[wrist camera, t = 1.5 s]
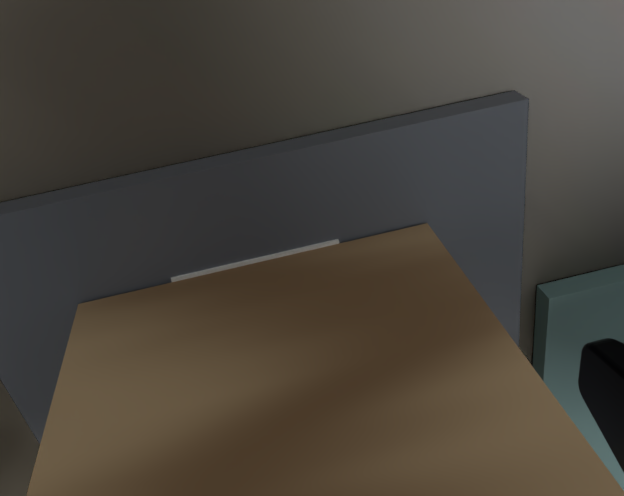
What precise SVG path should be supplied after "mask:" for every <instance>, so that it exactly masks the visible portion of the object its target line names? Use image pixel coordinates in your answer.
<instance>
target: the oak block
mask: <svg viewBox="0 0 624 496" xmlns="http://www.w3.org/2000/svg"><path fill="white" fill-rule="evenodd" d="M26 496H624V491H623V489H622V488H621V487H620V485H619V484H618V482H617V481H616V480H615V478H614V477H613V476H612V474H611V473H610V472H609V470H608V469H607V467H606V466H605V465H604V463H603V462H602V461H601V459H600V458H599V457H598V455H597V454H596V452H595V451H594V450H593V448H592V447H591V446H590V444H589V443H588V442H587V440H586V439H585V437H584V436H583V435H582V433H581V432H580V431H579V429H578V428H577V427H576V425H575V424H574V422H573V421H572V420H571V418H570V417H569V416H568V414H567V413H566V412H565V410H564V409H563V407H562V406H561V405H560V403H559V402H558V401H557V399H556V398H555V397H554V395H553V394H552V392H551V391H550V390H549V388H548V387H547V386H546V384H545V383H544V382H543V380H542V379H541V377H540V376H539V375H538V373H537V372H536V371H535V369H534V368H533V367H532V365H531V364H530V362H529V361H528V360H527V358H526V357H525V356H524V354H523V353H522V352H521V350H520V349H519V347H518V346H517V345H516V343H515V342H514V341H513V339H512V338H511V337H510V335H509V334H508V332H507V331H506V330H505V328H504V327H503V326H502V324H501V323H500V322H499V320H498V319H497V317H496V316H495V315H494V313H493V312H492V311H491V309H490V308H489V307H488V305H487V304H486V302H485V301H484V300H483V298H482V297H481V296H480V294H479V293H478V292H477V290H476V289H475V287H474V286H473V285H472V283H471V282H470V281H469V279H468V278H467V277H466V275H465V274H464V272H463V271H462V270H461V268H460V267H459V266H458V264H457V263H456V262H455V260H454V259H453V257H452V256H451V255H450V253H449V252H448V251H447V249H446V248H445V247H444V245H443V244H442V242H441V241H440V240H439V238H438V237H437V236H436V234H435V233H434V232H433V230H432V229H431V227H430V226H429V225H428V223H426V224H421V225H417V226H413V227H408V228H404V229H400V230H395V231H391V232H387V233H382V234H378V235H374V236H370V237H365V238H361V239H357V240H352V241H348V242H344V243H339V244H335V245H331V246H326V247H322V248H318V249H314V250H309V251H305V252H301V253H296V254H292V255H288V256H283V257H279V258H275V259H270V260H266V261H262V262H257V263H253V264H249V265H245V266H240V267H236V268H232V269H227V270H223V271H219V272H214V273H210V274H206V275H201V276H197V277H193V278H188V279H184V280H180V281H176V282H171V283H167V284H163V285H158V286H154V287H150V288H145V289H141V290H137V291H132V292H128V293H124V294H119V295H115V296H111V297H107V298H102V299H98V300H94V301H89V302H85V303H81V304H78V307H77V311H76V314H75V318H74V322H73V325H72V329H71V333H70V336H69V340H68V344H67V347H66V351H65V355H64V358H63V362H62V366H61V369H60V373H59V377H58V380H57V384H56V388H55V392H54V395H53V399H52V403H51V406H50V410H49V414H48V417H47V421H46V425H45V428H44V432H43V436H42V439H41V443H40V447H39V450H38V454H37V458H36V461H35V465H34V469H33V472H32V476H31V480H30V484H29V487H28V491H27V495H26Z"/></svg>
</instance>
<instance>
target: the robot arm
mask: <svg viewBox="0 0 624 496" xmlns="http://www.w3.org/2000/svg"><path fill="white" fill-rule="evenodd" d="M578 386H579V391H580V393H581V396H582V398H583V400H584V402H585V403H586V405H587V407H588V409H589V411H590V413H591V414H592V416H593V418H594V420H595V422H596V423H597V425H598V427H599V429H600V431H601V433H602V434H603V436H604V438H605V440H606V442H607V443H608V445H609V447H610V449H611V451H612V453H613V454H614V456H615V458H616V460H617V462H618V463H619V465H620V467H621V469H622V471H623V472H624V343H622V342H620V341H618V340H615V339H612V338H605V339H601V340H597V341H593V342H589V343H586V344H585V345H584V346H583V348H582V351H581V359H580V368H579V377H578Z"/></svg>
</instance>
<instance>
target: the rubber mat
mask: <svg viewBox="0 0 624 496" xmlns="http://www.w3.org/2000/svg"><path fill="white" fill-rule="evenodd" d="M605 338H612V339H615V340H618V341H620V342H622V343H624V264H623V265H619V266H615V267H611V268H607V269H603V270H598V271H594V272H590V273H586V274H582V275H578V276H574V277H570V278H566V279H561V280H557V281H553V282H549V283H545V284H541V285H537V297H536V314H535V331H534V348H533V365H532V367H533V368H534V369H535V371H536V372H537V373H538V375H539V376H540V377H541V379H542V380H543V382H544V383H545V384H546V386H547V387H548V388H549V390H550V391H551V392H552V394H553V395H554V397H555V398H556V399H557V401H558V402H559V403H560V405H561V406H562V407H563V409H564V410H565V412H566V413H567V414H568V416H569V417H570V418H571V420H572V421H573V422H574V424H575V425H576V427H577V428H578V429H579V431H580V432H581V433H582V435H583V436H584V437H585V439H586V440H587V442H588V443H589V444H590V446H591V447H592V448H593V450H594V451H595V452H596V454H597V455H598V457H599V458H600V459H601V461H602V462H603V463H604V465H605V466H606V467H607V469H608V470H609V472H610V473H611V474H612V476H613V477H614V478H615V480H616V481H617V482H618V484H619V485H620V487H621V488H622V489H623V491H624V472H623V471H622V469H621V467H620V465H619V463H618V462H617V460H616V458H615V456H614V454H613V453H612V451H611V449H610V447H609V445H608V443H607V442H606V440H605V438H604V436H603V434H602V433H601V431H600V429H599V427H598V425H597V423H596V422H595V420H594V418H593V416H592V414H591V413H590V411H589V409H588V407H587V405H586V403H585V402H584V400H583V398H582V396H581V393H580V391H579V386H578V377H579V368H580V359H581V351H582V348H583V346H584V345H585V344H586V343H589V342H593V341H597V340H601V339H605Z"/></svg>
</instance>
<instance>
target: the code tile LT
mask: <svg viewBox="0 0 624 496" xmlns="http://www.w3.org/2000/svg"><path fill="white" fill-rule="evenodd" d="M528 108H529V99H528V98H527V97H525V96H523V95H521V94H520V93H518V92H516V91H510V92H506V93H501V94H496V95H492V96H487V97H483V98H478V99H473V100H469V101H464V102H460V103H455V104H451V105H446V106H441V107H437V108H432V109H428V110H423V111H418V112H414V113H409V114H405V115H400V116H395V117H391V118H386V119H382V120H377V121H373V122H368V123H363V124H359V125H354V126H350V127H345V128H340V129H336V130H331V131H327V132H322V133H317V134H313V135H308V136H304V137H299V138H295V139H290V140H285V141H281V142H276V143H272V144H267V145H262V146H258V147H253V148H249V149H244V150H239V151H235V152H230V153H226V154H221V155H217V156H212V157H207V158H203V159H198V160H194V161H189V162H184V163H180V164H175V165H171V166H166V167H161V168H157V169H152V170H148V171H143V172H139V173H134V174H129V175H125V176H120V177H116V178H111V179H106V180H102V181H97V182H93V183H88V184H83V185H79V186H74V187H70V188H65V189H61V190H56V191H51V192H47V193H42V194H38V195H33V196H28V197H24V198H19V199H15V200H10V201H5V202H1V203H0V380H1V381H2V383H3V385H4V386H5V388H6V389H7V391H8V393H9V394H10V396H11V398H12V399H13V401H14V403H15V404H16V406H17V408H18V409H19V411H20V413H21V414H22V416H23V417H24V419H25V421H26V422H27V424H28V426H29V427H30V429H31V431H32V432H33V434H34V436H35V437H36V439H37V441H38V442H39V444H40V443H41V439H42V436H43V432H44V428H45V425H46V421H47V417H48V414H49V410H50V406H51V403H52V399H53V395H54V392H55V388H56V384H57V380H58V377H59V373H60V369H61V366H62V362H63V358H64V355H65V351H66V347H67V344H68V340H69V336H70V333H71V329H72V325H73V322H74V318H75V314H76V311H77V307H78V304H81V303H85V302H89V301H94V300H98V299H102V298H107V297H111V296H115V295H119V294H124V293H128V292H132V291H137V290H141V289H145V288H150V287H154V286H158V285H163V284H167V283H171V282H176V281H180V280H184V279H188V278H193V277H197V276H201V275H206V274H210V273H214V272H219V271H223V270H227V269H232V268H236V267H240V266H245V265H249V264H253V263H257V262H262V261H266V260H270V259H275V258H279V257H283V256H288V255H292V254H296V253H301V252H305V251H309V250H314V249H318V248H322V247H326V246H331V245H335V244H339V243H344V242H348V241H352V240H357V239H361V238H365V237H370V236H374V235H378V234H382V233H387V232H391V231H395V230H400V229H404V228H408V227H413V226H417V225H421V224H426V223H428V225H429V226H430V227H431V229H432V230H433V232H434V233H435V234H436V236H437V237H438V238H439V240H440V241H441V242H442V244H443V245H444V247H445V248H446V249H447V251H448V252H449V253H450V255H451V256H452V257H453V259H454V260H455V262H456V263H457V264H458V266H459V267H460V268H461V270H462V271H463V272H464V274H465V275H466V277H467V278H468V279H469V281H470V282H471V283H472V285H473V286H474V287H475V289H476V290H477V292H478V293H479V294H480V296H481V297H482V298H483V300H484V301H485V302H486V304H487V305H488V307H489V308H490V309H491V311H492V312H493V313H494V315H495V316H496V317H497V319H498V320H499V322H500V323H501V324H502V326H503V327H504V328H505V330H506V331H507V332H508V334H509V335H510V337H511V338H512V339H513V341H514V342H515V343H516V345H517V346H518V347H519V331H520V306H521V281H522V256H523V232H524V207H525V182H526V158H527V133H528Z"/></svg>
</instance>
